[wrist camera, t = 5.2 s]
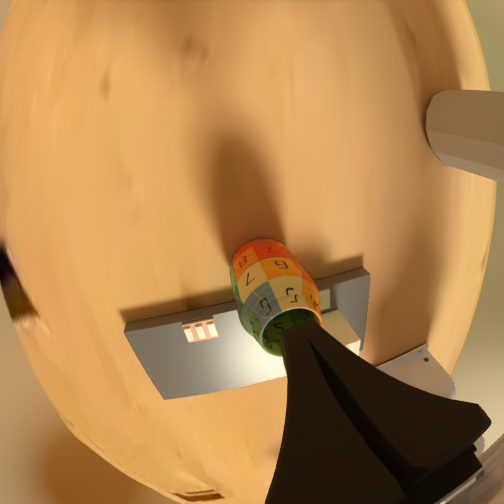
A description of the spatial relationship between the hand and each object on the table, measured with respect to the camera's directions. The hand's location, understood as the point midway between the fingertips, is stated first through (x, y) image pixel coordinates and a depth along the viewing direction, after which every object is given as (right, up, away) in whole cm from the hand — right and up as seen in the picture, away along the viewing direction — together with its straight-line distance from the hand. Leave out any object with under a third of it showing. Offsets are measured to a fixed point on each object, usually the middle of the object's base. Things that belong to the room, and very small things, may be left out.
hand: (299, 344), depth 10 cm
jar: (-1, +3, +10) cm, 11 cm away
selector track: (-1, -4, +13) cm, 14 cm away
